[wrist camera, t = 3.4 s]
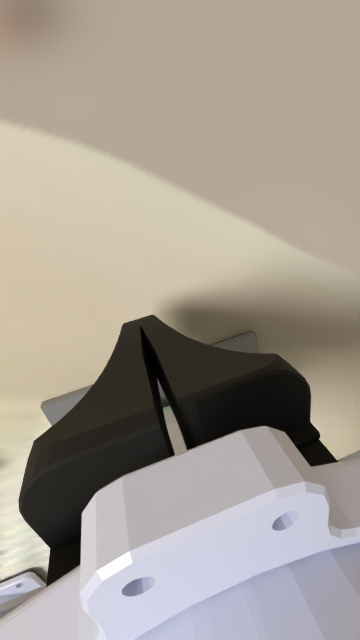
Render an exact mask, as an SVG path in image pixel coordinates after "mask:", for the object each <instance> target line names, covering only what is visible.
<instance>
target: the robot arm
mask: <svg viewBox="0 0 360 640" xmlns="http://www.w3.org/2000/svg"><path fill="white" fill-rule="evenodd" d="M157 379H158V381H159V383H160V386H161V388H162V390H163V392H164V394H165V397H166V399H167V401H168V403H169V405H170V407H171V410H172V412H173V414H174V416H175V418H176V421H177V423H178V426H179V428H180V431H181V434H182V437H183V440H184V443H185V446H186V449H187V451H185V452H182V453H180V454H177V455H175V453H174V450H173V446H172V443H171V440H170V437H169V433H168V430H167V425H166V421H165V416H164V411H163V406H162V401H161V396H160V391H159V386H158V381H157ZM310 408H311V393H310V386H309V385H308V383H307V381H306V379H305V378H304V377H303V376H302V375H301V374H300V373H299V372H298V371H297V370H296V369H295V368H293V367H292V366H291V365H290V364H289V363H288V362H286V361H285V360H284V359H282V358H281V357H280V356H279V355H277V354H262V353H246V352H238V351H231V350H226V349H221V348H217V347H213V346H210V345H206V344H203V343H201V342H198V341H195V340H193V339H190V338H188V337H186V336H184V335H182V334H181V333H179V332H177V331H175V330H174V329H172V328H171V327H169V326H168V325H166V324H165V323H163V322H162V321H161V320H159V319H158V318H157V317H156V316H154V315H149V316H146V317H143V318H140V319H137V320H134V321H130V322H127V323H124V324H123V326H122V328H121V332H120V335H119V338H118V341H117V343H116V346H115V348H114V351H113V353H112V355H111V357H110V359H109V361H108V363H107V365H106V367H105V369H104V370H103V372H102V374H101V375H100V376H99V378H98V379H97V381H96V382H95V383H94V385H93V386H92V387H91V388H90V389H89V391H88V392H87V393H86V394H85V395H84V397H83V398H82V399H81V400H80V401H79V402H78V403H77V404H76V405H75V406H74V407H73V408H72V409H71V410H70V411H69V412H68V413H67V414H66V415H65V416H64V417H63V418H61V419H60V420H59V421H58V422H57V423H56V424H54V425H53V426H52V427H51V428H49V429H48V430H47V431H46V432H45V433H43V434H42V435H41V436H40V437H38V438H37V439H36V440H34V443H33V446H32V449H31V452H30V455H29V458H28V461H27V465H26V469H25V473H24V478H23V483H22V487H21V492H20V496H19V511H20V513H21V515H22V516H23V518H24V520H25V521H26V522H27V523H28V524H29V526H30V527H31V528H32V529H33V530H34V531H35V532H36V533H37V534H38V535H39V536H40V537H41V539H42V540H43V541H44V542H45V543H46V544H47V545H48V546H49V547H50V557H49V567H48V576H47V584H46V583H45V582H44V581H42V580H41V579H40V578H39V577H38V576H37V575H36V574H35V573H33V572H27V573H24V574H22V575H19V576H17V577H14V578H12V579H10V580H7V581H5V582H2V583H0V640H360V451H357V452H355V453H353V454H350V455H348V456H346V457H343V458H341V459H339V460H336V459H335V458H334V456H333V455H332V454H331V453H330V452H329V451H328V449H327V448H326V447H325V446H324V445H323V444H322V442H321V441H320V440H319V438H320V434H319V431H318V430H317V429H316V428H315V427H314V426H313V425H312V424H311V422H310Z"/></svg>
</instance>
